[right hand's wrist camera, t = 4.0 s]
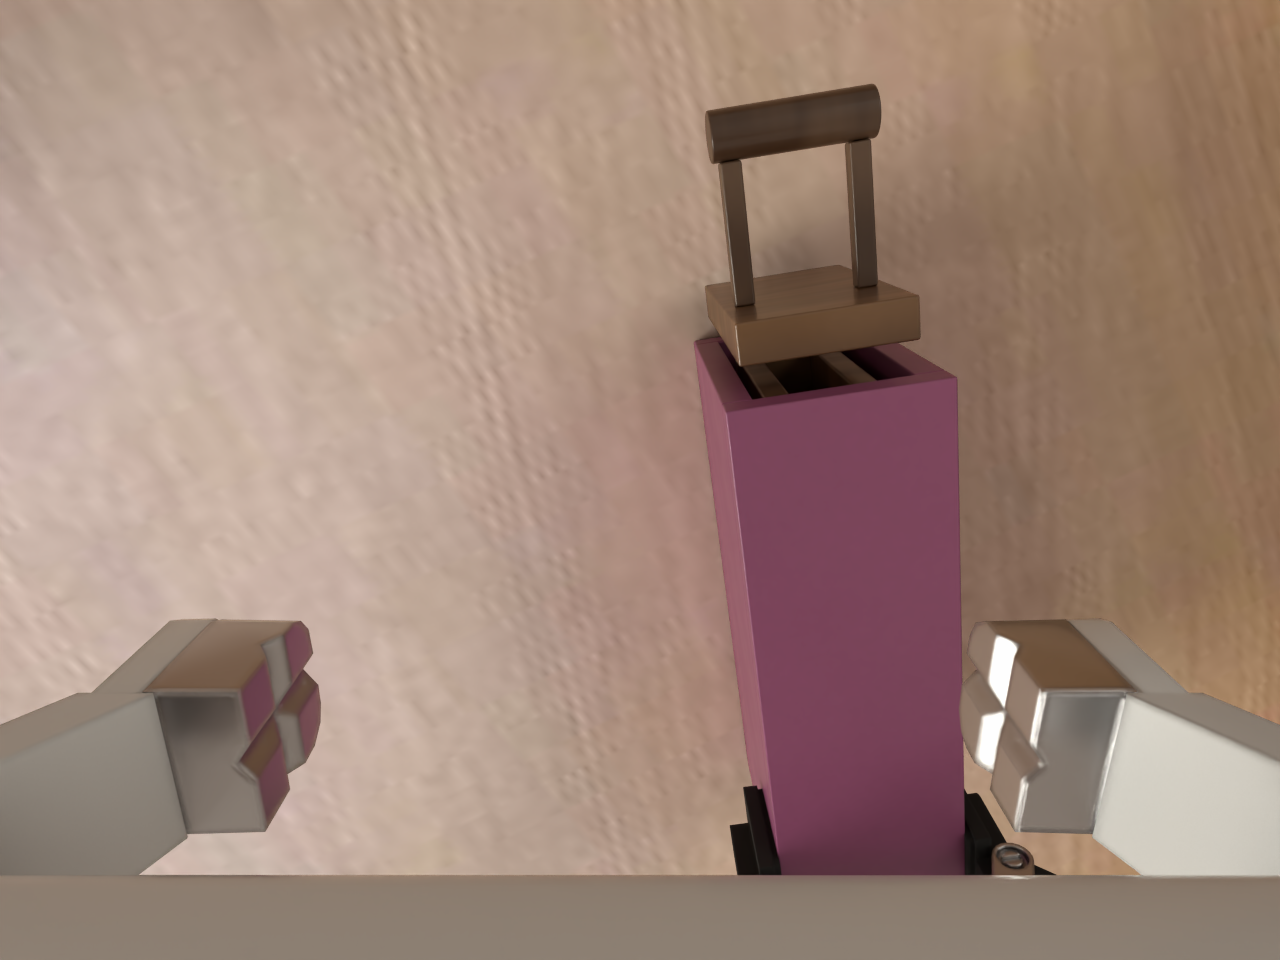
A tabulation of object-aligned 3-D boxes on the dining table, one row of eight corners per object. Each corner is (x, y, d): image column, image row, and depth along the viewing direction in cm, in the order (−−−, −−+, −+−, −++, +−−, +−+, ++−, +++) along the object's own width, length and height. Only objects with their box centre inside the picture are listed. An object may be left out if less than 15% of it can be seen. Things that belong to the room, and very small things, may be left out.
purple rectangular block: (693, 340, 31) (725, 412, 21) (853, 315, 31) (958, 376, 21) (747, 763, 38) (790, 962, 28) (878, 745, 38) (967, 940, 28)
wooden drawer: (685, 125, 28) (710, 102, 20) (829, 101, 28) (913, 69, 20) (756, 716, 36) (794, 867, 28) (867, 700, 36) (937, 848, 28)
